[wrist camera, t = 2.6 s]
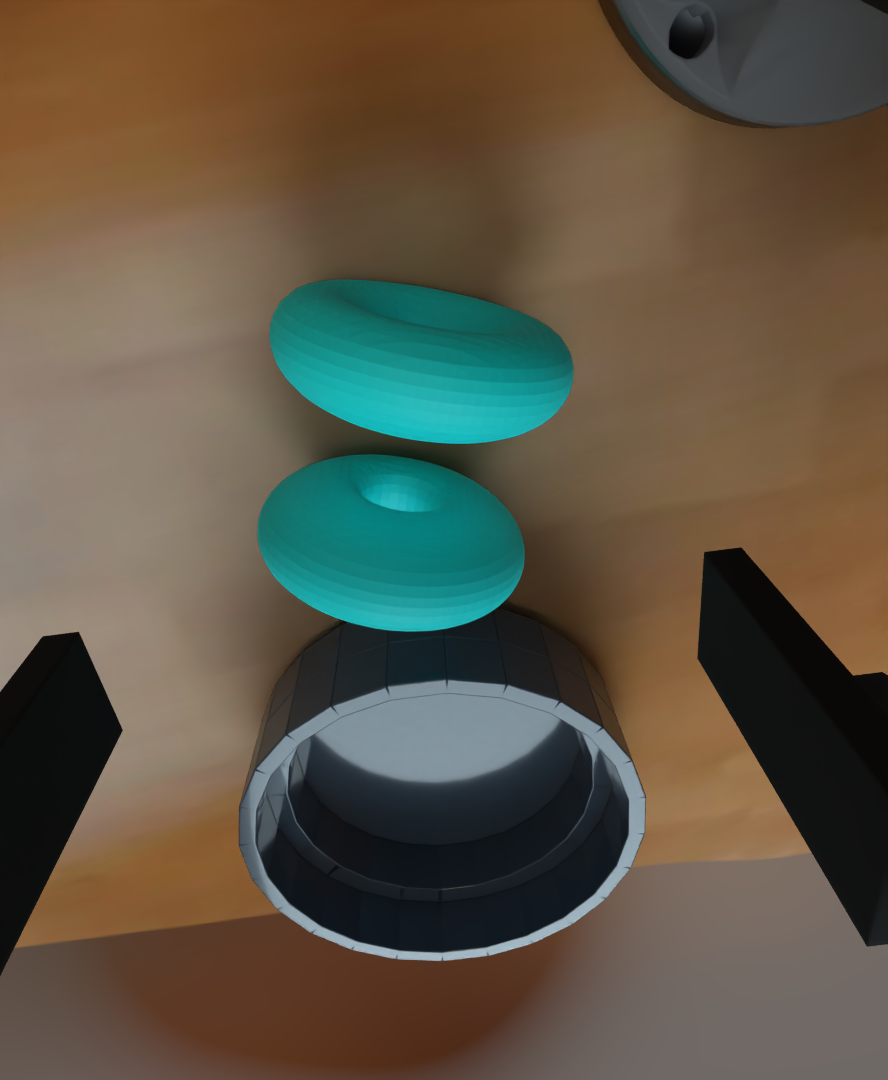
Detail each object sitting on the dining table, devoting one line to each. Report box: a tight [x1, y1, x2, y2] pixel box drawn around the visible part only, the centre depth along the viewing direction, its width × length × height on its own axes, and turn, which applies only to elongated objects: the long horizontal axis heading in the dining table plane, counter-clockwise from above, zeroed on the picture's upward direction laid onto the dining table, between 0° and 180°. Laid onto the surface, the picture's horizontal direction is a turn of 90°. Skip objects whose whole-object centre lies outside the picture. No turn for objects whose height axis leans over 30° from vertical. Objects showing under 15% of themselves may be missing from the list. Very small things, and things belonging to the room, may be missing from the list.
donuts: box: [257, 279, 574, 631], centre depth 25 cm, size 10×10×10 cm
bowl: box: [239, 608, 646, 961], centre depth 35 cm, size 19×19×6 cm
